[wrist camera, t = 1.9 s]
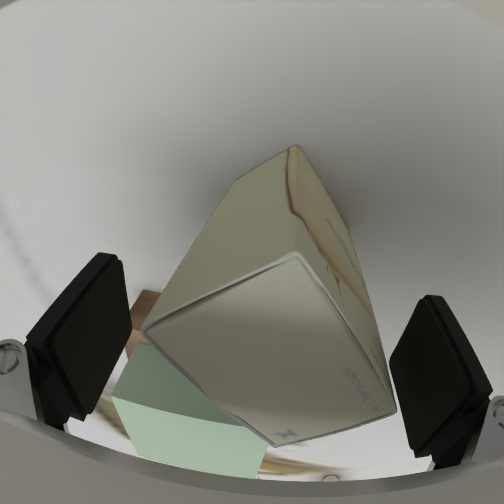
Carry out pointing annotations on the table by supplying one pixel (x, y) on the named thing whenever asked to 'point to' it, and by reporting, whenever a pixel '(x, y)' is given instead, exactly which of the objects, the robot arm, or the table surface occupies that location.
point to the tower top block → (181, 420)
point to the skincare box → (276, 311)
